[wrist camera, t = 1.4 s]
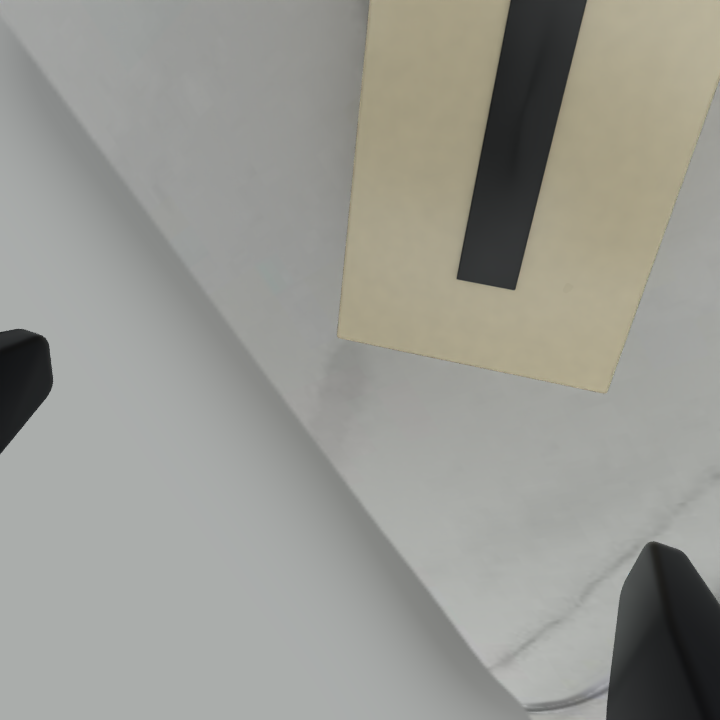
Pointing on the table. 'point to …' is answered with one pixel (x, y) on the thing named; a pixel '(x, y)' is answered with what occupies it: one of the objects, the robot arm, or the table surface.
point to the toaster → (520, 175)
